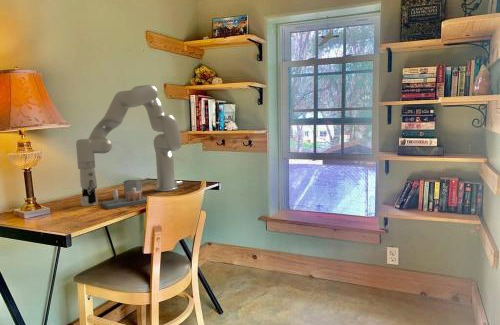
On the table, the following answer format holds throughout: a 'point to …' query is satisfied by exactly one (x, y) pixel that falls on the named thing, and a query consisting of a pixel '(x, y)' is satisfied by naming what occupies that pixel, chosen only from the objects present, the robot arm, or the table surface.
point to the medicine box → (132, 185)
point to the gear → (85, 201)
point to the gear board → (125, 199)
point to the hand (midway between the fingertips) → (89, 201)
